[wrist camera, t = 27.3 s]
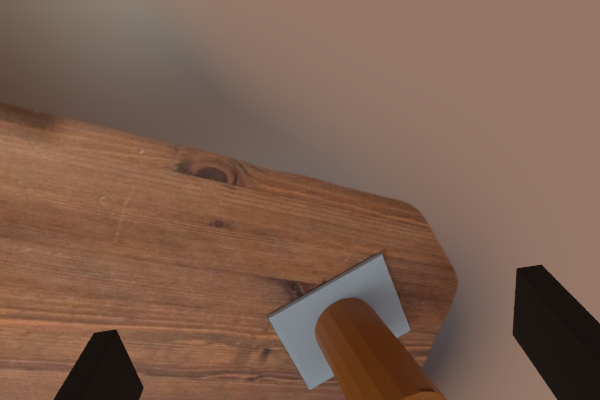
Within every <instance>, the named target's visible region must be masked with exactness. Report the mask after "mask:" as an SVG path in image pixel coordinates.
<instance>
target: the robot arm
mask: <svg viewBox="0 0 600 400" xmlns="http://www.w3.org/2000/svg"><path fill="white" fill-rule="evenodd" d="M513 336H514V337H515V339H516V340H517V342H518V343H519V345H520V346H521V347H522V349H523V350H524V352H525V353H526V355H527V356H528V357H529V359H530V360H531V362H532V363H533V365H534V366H535V367H536V369H537V370H538V372H539V374H540V375H541V376H542V378H543V379H544V381H545V382H546V384H547V385H548V387H549V388H550V389H551V391H552V392H553V394H554V395H555V397H556V398H557V400H600V324H599V322H598V321H597V320H596V319H595V318H594V317H593V316H592V315H591V314H590V313H589V312H588V311H587V310H586V309H585V308H584V307H583V306H582V305H581V304H580V303H579V302H578V301H577V300H576V299H575V298H574V297H573V296H572V295H571V294H570V293H569V292H568V291H567V290H566V289H565V288H564V287H563V286H562V285H561V284H560V283H559V282H558V281H557V280H556V279H555V278H554V277H553V276H552V275H551V274H550V273H549V272H548V271H547V270H546V269H545V268H544V267H543V266H542V265H536V266H530V267H523V268H517V273H516V290H515V305H514V320H513ZM143 388H144V387H143V385H142V383H141V381H140V379H139V377H138V375H137V373H136V370H135V368H134V366H133V364H132V362H131V360H130V358H129V356H128V353H127V351H126V349H125V347H124V345H123V343H122V341H121V339H120V336H119V334H118V332H117V330H110V331H103V332H97V333H94V334H93V336H92V337H91V339H90V340H89V342H88V344H87V345H86V347H85V349H84V350H83V352H82V354H81V355H80V357H79V359H78V360H77V362H76V364H75V365H74V367H73V368H72V370H71V372H70V373H69V375H68V377H67V378H66V380H65V382H64V383H63V385H62V387H61V388H60V390H59V392H58V393H57V395H56V397H55V398H54V400H139V398H140V396H141V393H142V391H143Z"/></svg>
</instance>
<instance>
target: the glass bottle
mask: <svg viewBox="0 0 600 400" xmlns="http://www.w3.org/2000/svg"><path fill="white" fill-rule="evenodd" d="M315 338H316V341H317V344H318V345H319V347H320V349H321V351H322V353H323V355H324V357H325V359H326V361H327V362H328V364H329V366H330V368H331V370H332V372H333V374H334V376H335V377H336V379H337V381H338V383H339V385H340V387H341V389H342V391H343V393H344V394H345V396H346V398H347V400H446V398H445V397H444V395H443V394H442V393H441V391H440V390H439V389H438V388H437V387H436V385H435V384H434V383H433V382H432V380H431V379H430V378H429V377H428V376H427V374H426V373H425V372H424V371H423V369H422V368H421V367H420V366H419V365H418V363H417V362H416V361H415V360H414V358H413V357H412V356H411V355H410V354H409V352H408V351H407V350H406V349H405V347H404V346H403V345H402V344H401V343H400V341H399V340H398V339H397V338H396V336H395V335H394V334H393V333H392V332H391V330H390V329H389V328H388V327H387V325H386V324H385V323H384V322H383V320H382V319H381V318H380V317H379V316H378V314H377V313H376V312H375V311H374V309H373V308H372V307H371V306H370V305H369V304H368V303H367V302H365V301H363V300H361V299H358V298H345V299H341V300H338V301H336V302H334V303H333V304H331V305H330V306H328V307H327V308H326V309H325V310H324V311H323V312H322V314H321V315H320V317H319V318H318V320H317V323H316V326H315Z"/></svg>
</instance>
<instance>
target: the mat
mask: <svg viewBox="0 0 600 400" xmlns="http://www.w3.org/2000/svg"><path fill="white" fill-rule="evenodd" d="M345 298H358V299H361V300H363V301H365V302H367V303H368V304H369V305H370V306H371V307H372V308H373V309H374V311H375V312H376V313H377V314H378V316H379V317H380V318H381V319H382V320H383V322H384V323H385V324H386V325H387V327H388V328H389V329H390V330H391V332H392V333H393V334H394V335H395V336H396V338H398V337H400V336H402V335H403V334H405V333H407V332H408V331H410V327H409V325H408V322H407V319H406V317H405V314H404V311H403V309H402V306H401V303H400V301H399V298H398V295H397V293H396V290H395V287H394V285H393V282H392V279H391V277H390V274H389V271H388V269H387V266H386V263H385V261H384V258H383V255H382V254H381V253H378V254H376V255H374V256H372V257H371V258H369V259H367V260H365V261H364V262H362V263H360V264H358V265H356V266H355V267H353V268H351V269H349V270H348V271H346V272H344V273H342V274H340V275H339V276H337V277H335V278H333V279H332V280H330V281H328V282H326V283H324V284H323V285H321V286H319V287H317V288H316V289H314V290H312V291H310V292H308V293H307V294H305V295H303V296H301V297H300V298H298V299H296V300H294V301H292V302H291V303H289V304H287V305H285V306H284V307H282V308H280V309H278V310H276V311H275V312H273V313H271V314H269V315H268V316H267V317H268V319H269V321H270V322H271V324H272V326H273V328H274V329H275V331H276V333H277V334H278V336H279V338H280V340H281V341H282V343H283V345H284V347H285V348H286V350H287V352H288V353H289V355H290V357H291V359H292V360H293V362H294V364H295V365H296V367H297V369H298V371H299V372H300V374H301V376H302V378H303V379H304V381H305V383H306V384H307V386H308V388H309V390H311V389H313V388H315V387H316V386H318V385H320V384H321V383H323V382H325V381H326V380H328V379H330V378H331V377H333V376H334V374H333V372H332V370H331V368H330V366H329V364H328V362H327V361H326V359H325V357H324V355H323V353H322V351H321V349H320V347H319V345H318V344H317V341H316V338H315V326H316V323H317V320H318V318H319V317H320V315H321V314H322V312H323V311H324V310H325V309H326V308H327V307H328V306H330V305H331V304H333V303H334V302H336V301H338V300H341V299H345Z"/></svg>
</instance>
